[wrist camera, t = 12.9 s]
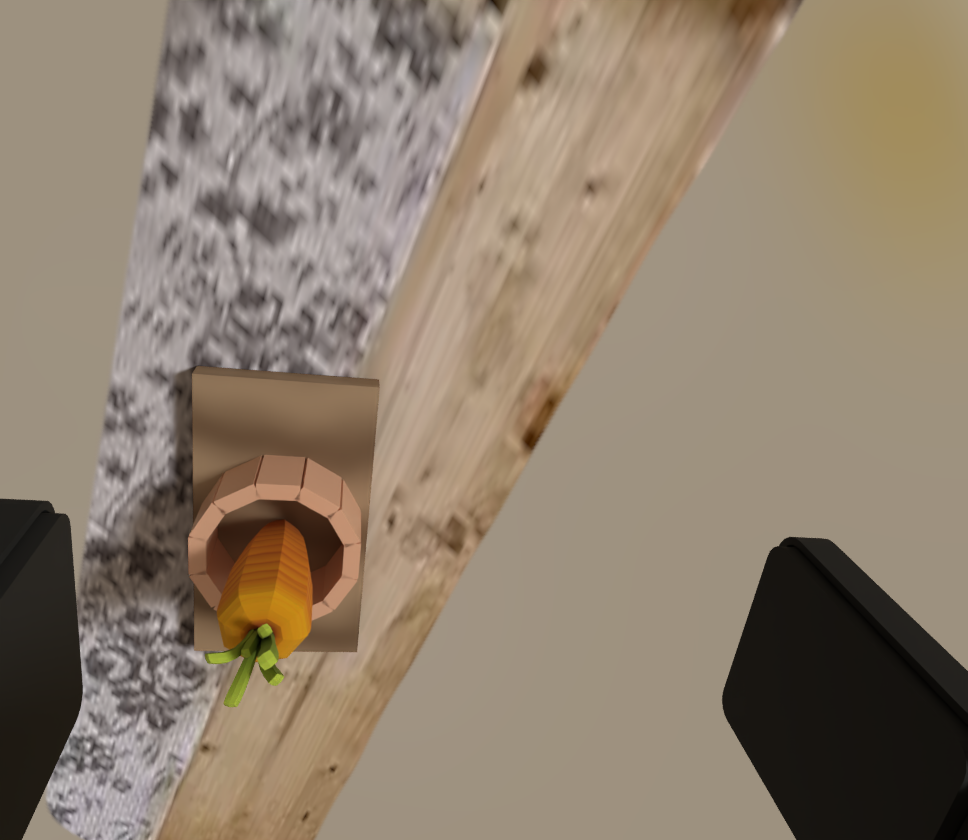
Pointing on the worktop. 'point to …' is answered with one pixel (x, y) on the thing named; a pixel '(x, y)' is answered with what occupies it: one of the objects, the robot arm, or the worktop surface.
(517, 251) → the worktop surface
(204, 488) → the walnut board
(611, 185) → the worktop surface
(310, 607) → the carrot
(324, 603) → the terracotta cup
